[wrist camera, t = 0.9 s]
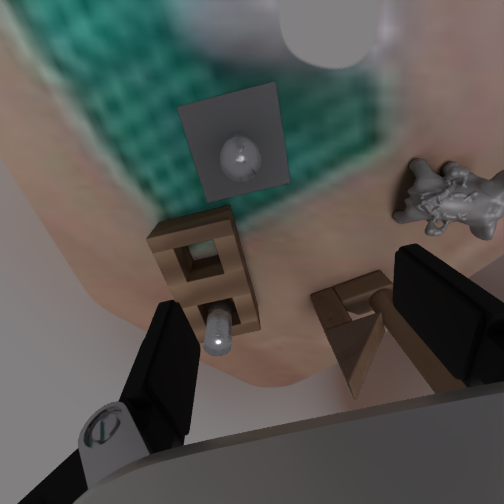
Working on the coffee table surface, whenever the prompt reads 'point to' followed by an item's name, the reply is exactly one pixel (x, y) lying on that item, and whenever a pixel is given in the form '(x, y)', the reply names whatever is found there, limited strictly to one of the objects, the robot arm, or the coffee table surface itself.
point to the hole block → (206, 268)
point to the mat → (231, 121)
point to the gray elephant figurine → (453, 199)
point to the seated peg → (219, 328)
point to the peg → (240, 158)
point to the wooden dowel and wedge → (373, 331)
